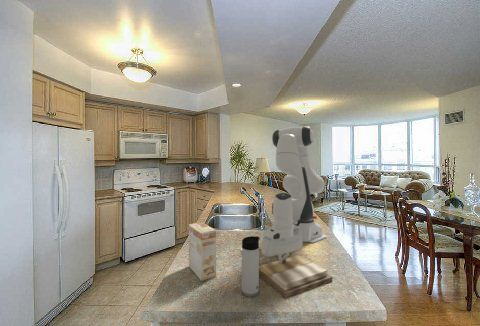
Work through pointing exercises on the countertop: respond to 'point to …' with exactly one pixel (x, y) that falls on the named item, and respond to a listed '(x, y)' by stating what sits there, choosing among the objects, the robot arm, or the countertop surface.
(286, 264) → the honey oak plank
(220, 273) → the countertop surface
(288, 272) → the pale ash plank
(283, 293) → the walnut board
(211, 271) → the coffeecake box
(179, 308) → the countertop surface
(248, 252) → the travel mug
